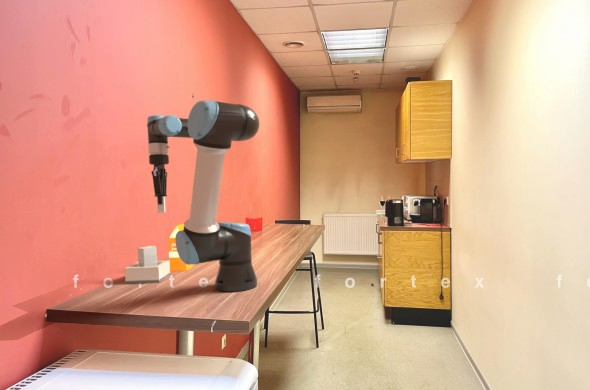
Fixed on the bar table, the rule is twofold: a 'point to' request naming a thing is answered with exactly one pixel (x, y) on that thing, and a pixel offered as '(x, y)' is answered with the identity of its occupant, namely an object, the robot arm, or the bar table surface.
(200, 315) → the bar table surface
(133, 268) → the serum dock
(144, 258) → the skincare box
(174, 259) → the orange juice
